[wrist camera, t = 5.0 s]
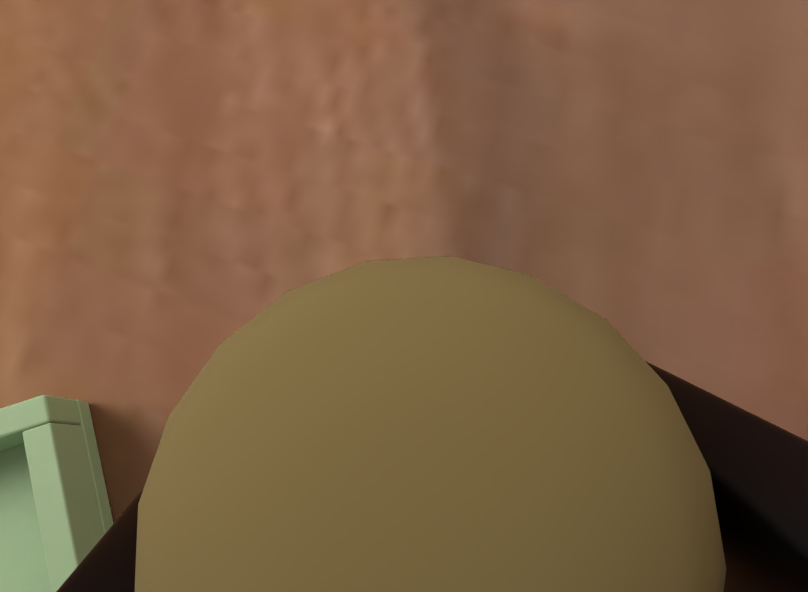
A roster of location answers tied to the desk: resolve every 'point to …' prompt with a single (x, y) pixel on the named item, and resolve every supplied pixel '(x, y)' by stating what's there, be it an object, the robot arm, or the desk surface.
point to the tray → (48, 492)
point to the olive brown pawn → (428, 448)
